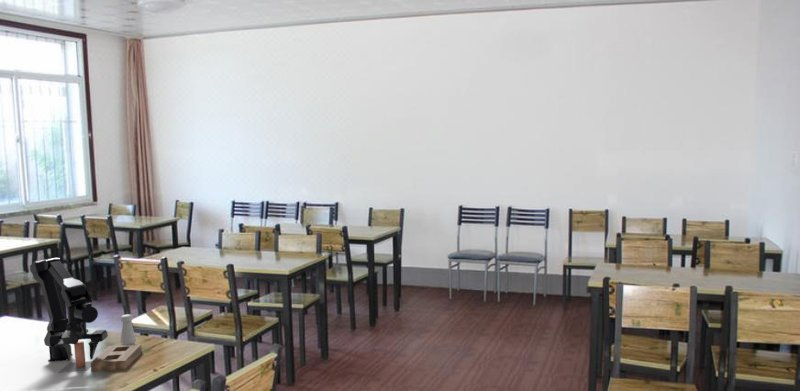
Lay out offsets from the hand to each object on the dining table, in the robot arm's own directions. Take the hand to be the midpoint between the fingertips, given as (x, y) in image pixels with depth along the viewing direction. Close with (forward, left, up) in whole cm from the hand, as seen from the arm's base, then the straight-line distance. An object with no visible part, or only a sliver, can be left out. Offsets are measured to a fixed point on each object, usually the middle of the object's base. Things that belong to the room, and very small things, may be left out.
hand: (80, 359), depth 227 cm
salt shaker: (+10, +21, -3) cm, 23 cm away
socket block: (+12, +3, -3) cm, 13 cm away
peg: (0, 0, -2) cm, 2 cm away
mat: (-1, 0, -3) cm, 3 cm away
